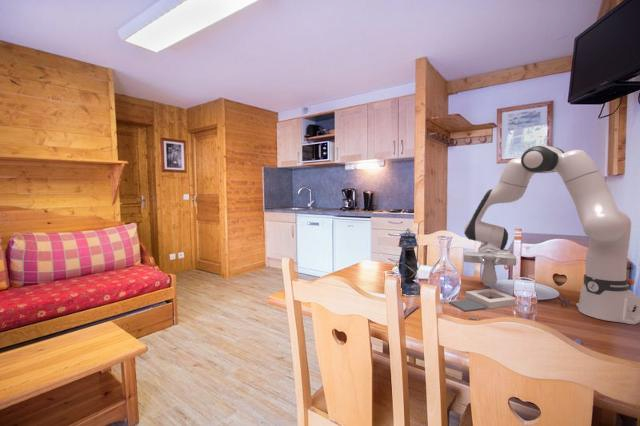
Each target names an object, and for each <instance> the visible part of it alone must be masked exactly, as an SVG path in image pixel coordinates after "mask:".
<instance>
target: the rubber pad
mask: <svg viewBox="0 0 640 426" xmlns="http://www.w3.org/2000/svg"><path fill="white" fill-rule="evenodd" d="M448 304H449V305H451V306H454V307H455V308H457V309H459V310H461V311H463V312H464V313H467V312H474V311H481V310H487V307H485V306H483V305H481V304H479V303H477V302H475V301H473V300H470V299H468V298H466V299H459V300H451V301H448Z"/></svg>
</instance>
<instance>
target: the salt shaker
mask: <svg viewBox="0 0 640 426" xmlns="http://www.w3.org/2000/svg"><path fill="white" fill-rule="evenodd" d="M484 260H486V262H485V264H484V265H483V268H482V273H481V281H482V283H483V285H484V286H486V287H493V286H494V287H495V286H496V283H497V281H498V279H497V278H498V277H497V272H496V267H495V266H496V265H493V263H494V262H493V260H495V256H494V255H493V254H485V255H484Z"/></svg>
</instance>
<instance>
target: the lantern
mask: <svg viewBox="0 0 640 426" xmlns="http://www.w3.org/2000/svg"><path fill="white" fill-rule="evenodd" d="M399 236H400V238H399V241H398V247H400V248H401V251H400V255H399V260H398V261H397V262H396V263H395V265H396V267H397V269H398V273H399V275H400V281H401V288H402V295H401V296H403V294H406V295H418V296H421V295H420V289H421V285H420V283H418V282H416V279H417V278H416V277H417V275H418V270H419V268H420V266H421V262H420V260H418V259H417V255H416V251H415V248H418V247H419V245H418V239H417V238H416V236H417V234H416V233H415V232H411V231H410V228H406V231H405V232H401V233H399ZM418 262H419V264H418Z"/></svg>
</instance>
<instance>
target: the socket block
mask: <svg viewBox="0 0 640 426" xmlns="http://www.w3.org/2000/svg"><path fill="white" fill-rule="evenodd" d="M464 297H465V298H466V299H470V300H472V301H474V302H476V303H478V304H480V305H482V306H484V307H487V308H488V309H496V308H503V307H511V306H516V305H515V301H516V299H515V298H516V297H514V296H512V295H510V294H507V293H504V292H502V291H499V290H497V289H494V288H485V289H476V290H467V291H465V293H464Z"/></svg>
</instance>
